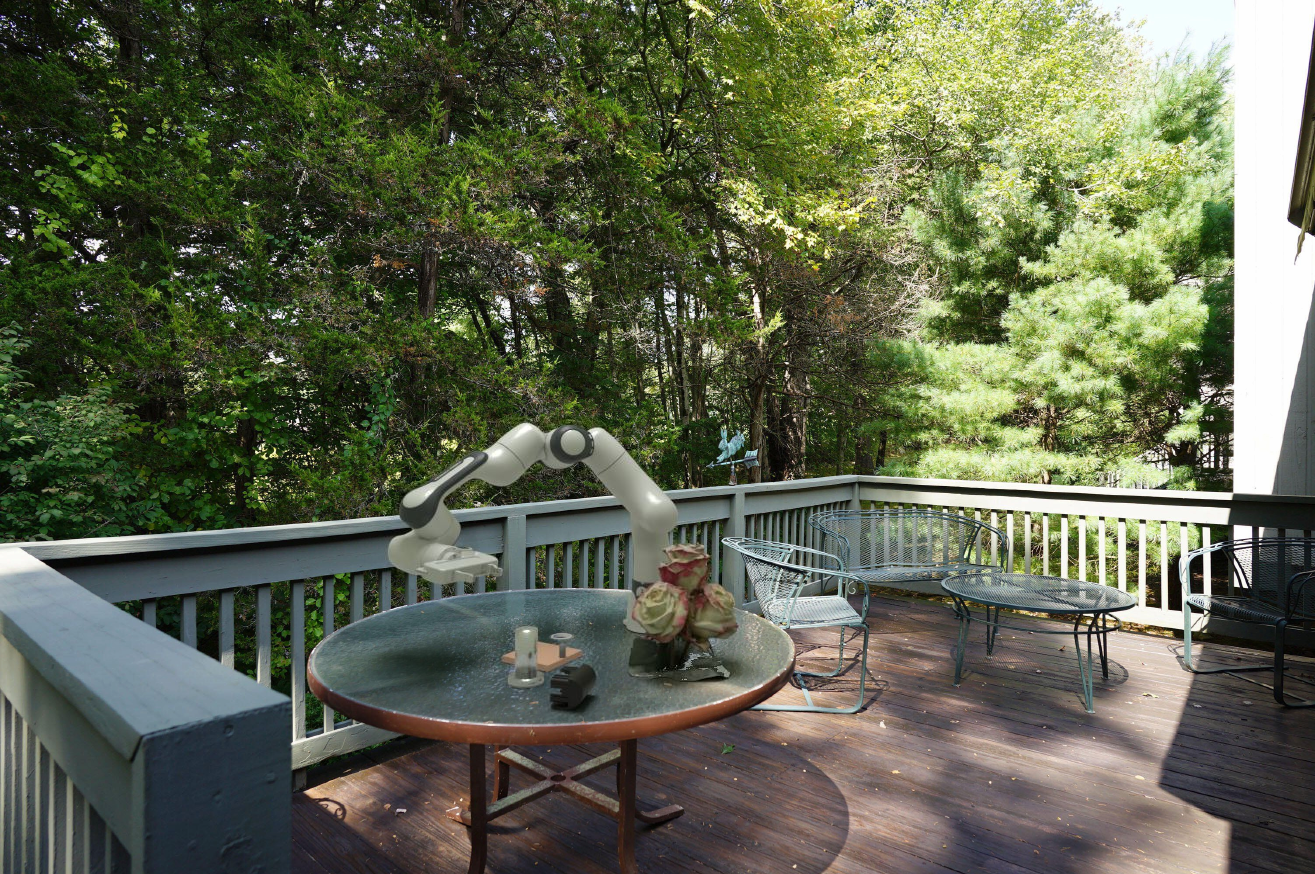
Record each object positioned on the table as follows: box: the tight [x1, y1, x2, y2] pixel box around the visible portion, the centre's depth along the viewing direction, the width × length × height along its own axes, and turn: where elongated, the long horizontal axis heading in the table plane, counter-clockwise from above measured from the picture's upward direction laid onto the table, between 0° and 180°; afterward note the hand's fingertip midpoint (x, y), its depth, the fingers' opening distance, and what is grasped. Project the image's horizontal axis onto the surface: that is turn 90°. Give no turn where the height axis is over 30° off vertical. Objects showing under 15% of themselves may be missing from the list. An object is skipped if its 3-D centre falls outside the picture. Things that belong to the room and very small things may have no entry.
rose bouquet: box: [628, 542, 739, 682], centre depth 174 cm, size 26×29×30 cm
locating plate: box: [501, 641, 583, 673], centre depth 177 cm, size 14×14×4 cm
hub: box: [507, 625, 545, 690], centre depth 161 cm, size 8×8×12 cm
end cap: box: [549, 663, 597, 711], centre depth 150 cm, size 10×7×7 cm
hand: (487, 575), depth 167 cm, fingers open, 8 cm apart
